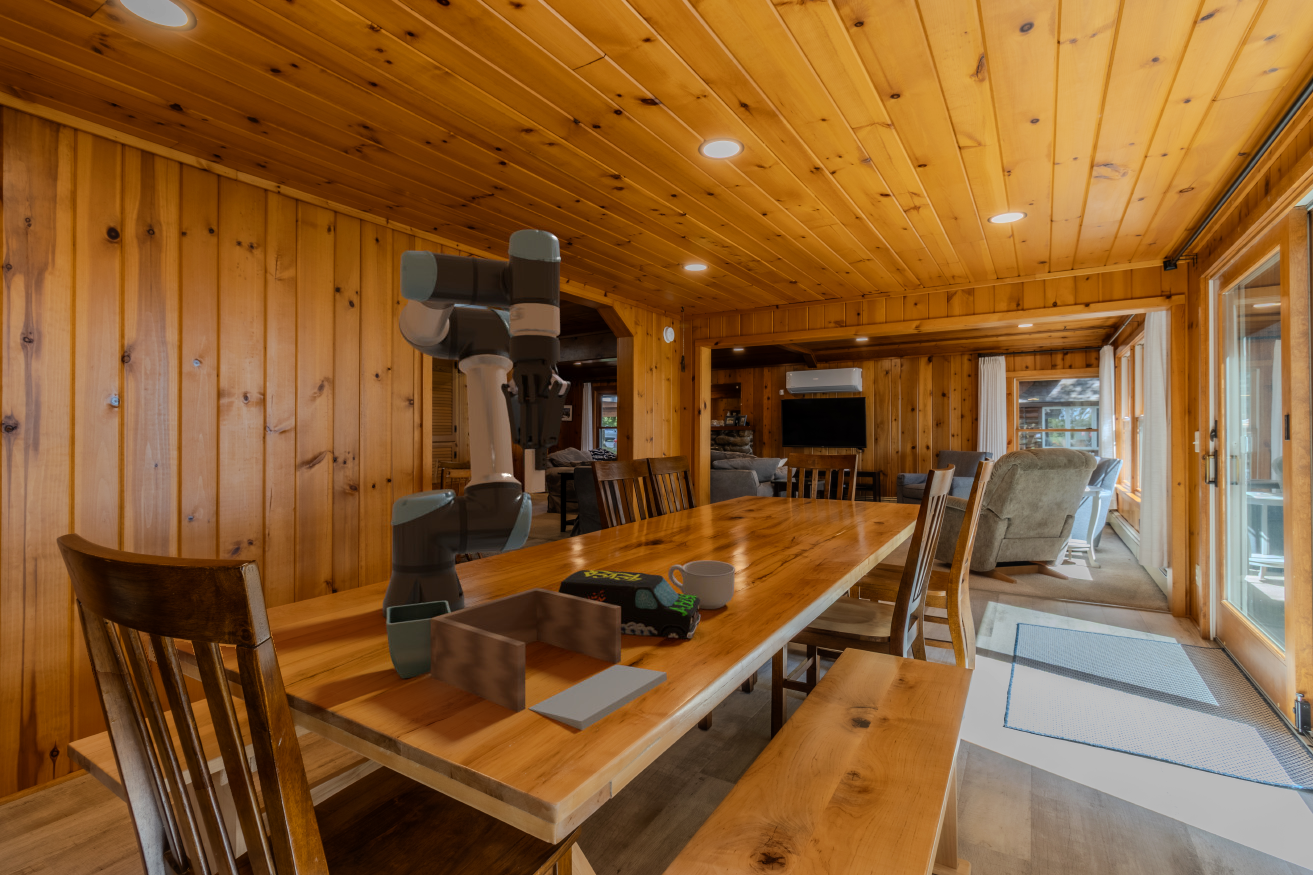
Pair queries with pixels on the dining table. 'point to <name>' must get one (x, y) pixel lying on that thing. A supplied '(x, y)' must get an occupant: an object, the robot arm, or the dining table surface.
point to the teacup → (706, 582)
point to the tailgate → (599, 695)
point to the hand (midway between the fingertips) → (535, 491)
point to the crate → (518, 640)
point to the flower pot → (412, 636)
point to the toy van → (638, 601)
